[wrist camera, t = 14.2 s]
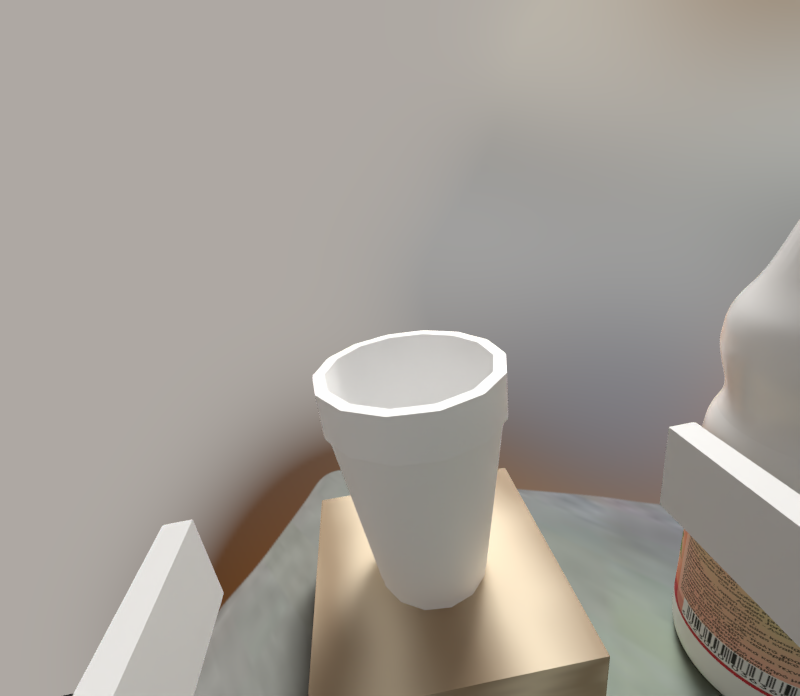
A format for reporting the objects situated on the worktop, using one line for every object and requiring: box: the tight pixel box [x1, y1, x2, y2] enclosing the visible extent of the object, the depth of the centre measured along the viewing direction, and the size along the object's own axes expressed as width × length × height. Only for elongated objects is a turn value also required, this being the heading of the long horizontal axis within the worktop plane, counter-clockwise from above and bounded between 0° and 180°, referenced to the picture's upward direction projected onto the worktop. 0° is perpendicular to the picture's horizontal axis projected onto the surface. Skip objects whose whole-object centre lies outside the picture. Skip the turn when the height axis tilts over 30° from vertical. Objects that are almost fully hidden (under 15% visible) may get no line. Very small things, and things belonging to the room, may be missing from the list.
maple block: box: [308, 468, 610, 696], centre depth 27 cm, size 14×14×6 cm
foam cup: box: [313, 330, 508, 610], centre depth 23 cm, size 10×9×13 cm
